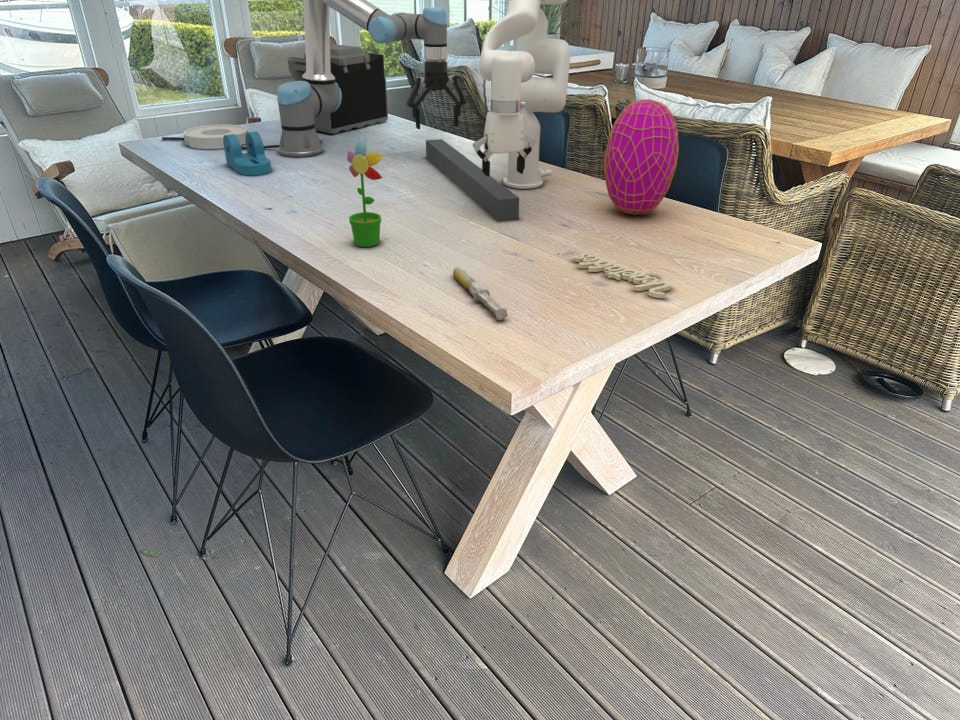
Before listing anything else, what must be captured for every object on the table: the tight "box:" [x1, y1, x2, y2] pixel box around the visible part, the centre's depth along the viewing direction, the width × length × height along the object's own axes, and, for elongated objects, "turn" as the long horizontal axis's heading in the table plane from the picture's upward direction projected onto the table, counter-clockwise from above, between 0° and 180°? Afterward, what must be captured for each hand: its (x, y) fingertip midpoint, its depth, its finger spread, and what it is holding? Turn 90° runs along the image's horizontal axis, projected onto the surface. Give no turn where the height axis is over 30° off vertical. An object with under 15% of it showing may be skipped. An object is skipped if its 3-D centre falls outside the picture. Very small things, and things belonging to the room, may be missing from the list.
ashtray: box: [182, 123, 249, 150], centre depth 260 cm, size 23×23×4 cm
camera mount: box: [223, 131, 272, 176], centre depth 226 cm, size 18×10×10 cm, turn 35°
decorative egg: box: [603, 98, 680, 215], centre depth 186 cm, size 19×19×30 cm
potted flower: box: [346, 138, 383, 248], centre depth 165 cm, size 9×8×25 cm
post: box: [425, 138, 520, 223], centre depth 215 cm, size 72×6×6 cm, turn 20°
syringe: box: [452, 266, 509, 321], centre depth 145 cm, size 25×4×3 cm, turn 21°
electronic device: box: [287, 43, 389, 135], centre depth 281 cm, size 37×22×30 cm, turn 144°
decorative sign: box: [574, 252, 671, 299], centre depth 155 cm, size 26×1×10 cm
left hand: (437, 127), depth 236 cm, fingers open, 13 cm apart
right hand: (503, 173), depth 184 cm, fingers open, 9 cm apart
